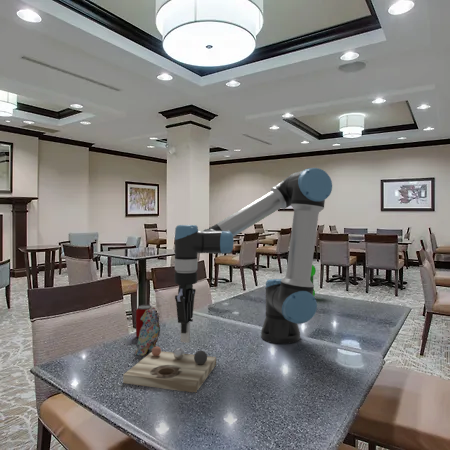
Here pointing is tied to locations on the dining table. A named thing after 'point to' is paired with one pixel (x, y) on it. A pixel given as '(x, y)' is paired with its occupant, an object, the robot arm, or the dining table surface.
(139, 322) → the beverage can
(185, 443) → the dining table surface
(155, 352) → the pink rubber ball
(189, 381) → the board
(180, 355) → the steel ball
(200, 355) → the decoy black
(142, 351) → the figurine
